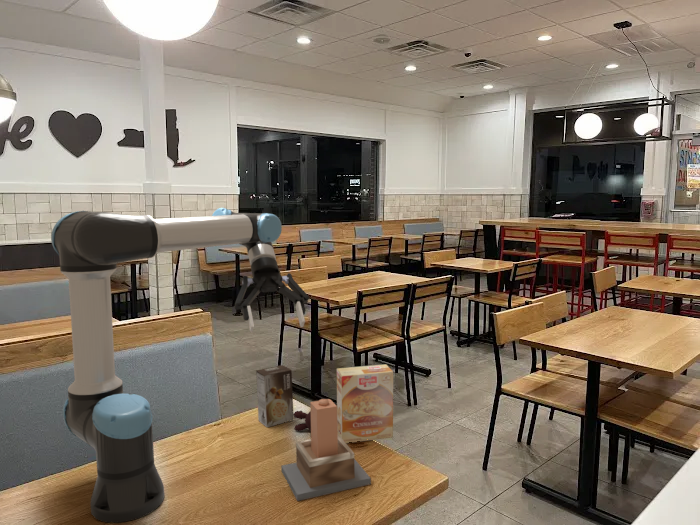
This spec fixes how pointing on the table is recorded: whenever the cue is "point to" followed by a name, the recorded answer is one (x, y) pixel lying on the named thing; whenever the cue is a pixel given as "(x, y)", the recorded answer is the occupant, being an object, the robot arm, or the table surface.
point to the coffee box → (274, 395)
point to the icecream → (301, 416)
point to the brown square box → (325, 464)
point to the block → (324, 428)
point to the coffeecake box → (365, 403)
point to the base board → (305, 492)
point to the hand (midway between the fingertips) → (278, 327)
